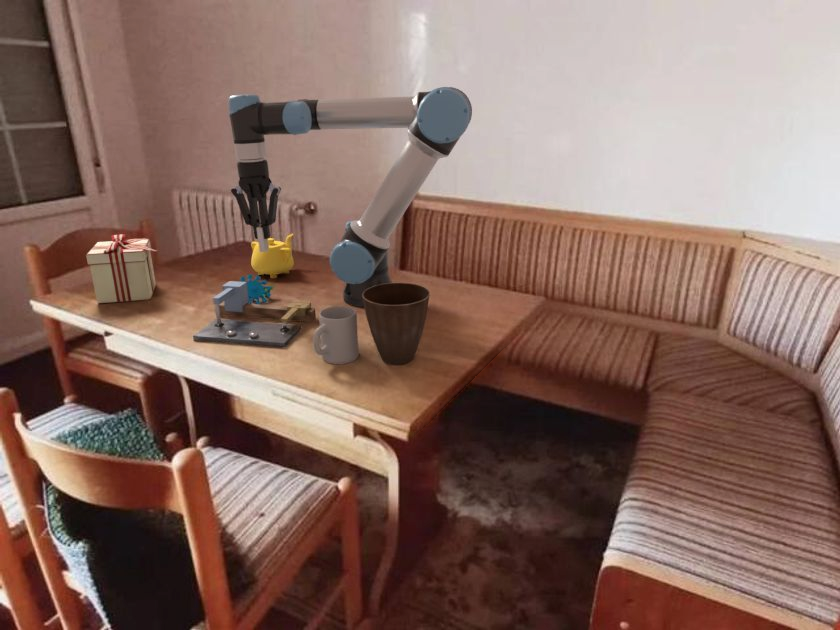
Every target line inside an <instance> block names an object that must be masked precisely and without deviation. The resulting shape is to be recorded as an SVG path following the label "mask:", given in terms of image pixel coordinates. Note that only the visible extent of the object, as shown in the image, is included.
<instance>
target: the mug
mask: <svg viewBox="0 0 840 630" xmlns="http://www.w3.org/2000/svg"><path fill="white" fill-rule="evenodd" d="M318 319H319V320H318V321H319V326H318V327H317V328H316V329H315V330H314V332H313V342H312V343H313V348H314V352H315V353H316V354H317V355H318V356H321V358H322V360H324V361H325V362H326V363H328V364H333V365H345V364H348V363H351V362H354V361H355V360H357V359H358V357H359V354H360V353H359V352H360V351H359V339H358V338H359V335H358V334H359V333H358V317H357V311H356V309H355V308H353V307H350V306H346V305H345V306H344V305H336V306H330V307H326V308H324V309H322V310H320V311H319V315H318ZM320 345H321V347H320Z"/></svg>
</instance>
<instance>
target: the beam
mask: <svg viewBox="0 0 840 630" xmlns="http://www.w3.org/2000/svg"><path fill="white" fill-rule="evenodd" d="M287 306H288V305H287ZM287 306H284V305H272V304H270V305H269V304H260V305H259V304H255V303H251V304H245V305H244V306H243V312H234V311H225V306H224V301H223V302H222V303H221V304H219V310H220V316H225V317H237V318H252V319H253V318H254V319H264V320H266V319H268V320H279V321H281V318H282V317H283V316H284V315H285V314H286V313H287ZM214 312H215V313H216V311H215V310H214ZM316 317H317V315H316V308H315V307H311V308H308V309H307V310H306V316H305V317H304V316H294V317H293V318H292V319H291V320H290V321H294V322H304V323H305V322H309V323H313V322H314V321H315V320H316V319H317V318H316Z"/></svg>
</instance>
